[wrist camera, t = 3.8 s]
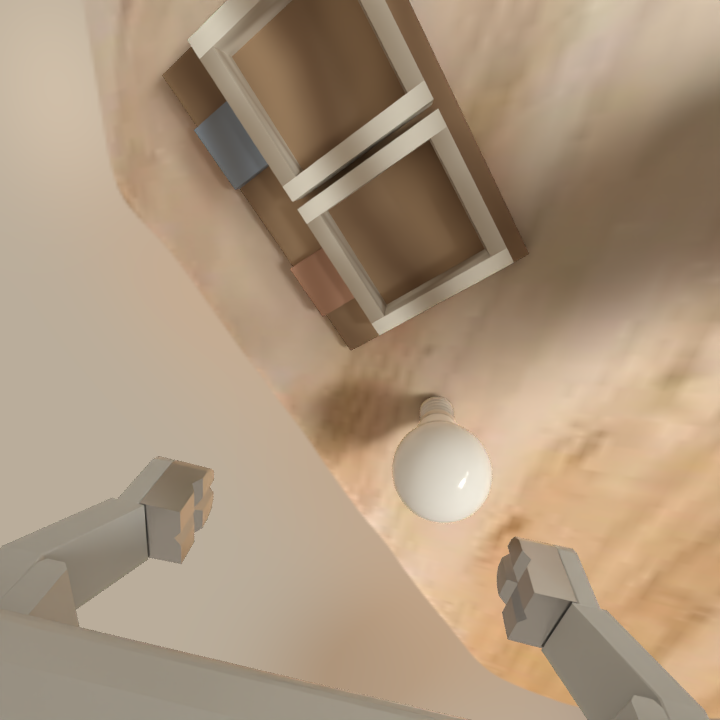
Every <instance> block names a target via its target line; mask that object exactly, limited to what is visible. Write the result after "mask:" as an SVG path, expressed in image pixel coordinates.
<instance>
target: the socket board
mask: <svg viewBox="0 0 720 720" xmlns="http://www.w3.org/2000/svg"><path fill="white" fill-rule="evenodd" d="M187 41H188V42H189V44H190V45H191V47H190V48H189V49H188V50H187V51H186V52H185V53H184V54H183V55H182V56H181V57H180V58H179V59H178V60H177V61H176V62H175V63H174V64H173V65H172V66H171V67H170V68H169V69H168V70H167V71H166V72H165V73H164V74H163V75H162V76H163V78H164V79H165V81H166V82H167V84H168V85H169V86H170V88H171V89H172V91H173V92H174V94H175V95H176V97H177V98H178V100H179V101H180V102H181V104H182V105H183V107H184V108H185V110H186V111H187V113H188V114H189V116H190V117H191V118H192V120H193V121H194V123H195V124H196V126H197V128H196V129H195V130H194V131H195V132H196V134H197V135H198V137H199V138H200V140H201V141H202V143H203V144H204V145H205V147H206V148H207V150H208V151H209V153H210V154H211V156H212V157H213V158H214V160H215V161H216V163H217V164H218V166H219V167H220V169H221V170H222V171H223V173H224V174H225V176H226V177H227V179H228V180H229V182H230V183H231V185H232V186H233V187H234V189H235V190H236V189H240V190H241V191H242V193H243V194H244V196H245V197H246V199H247V200H248V202H249V203H250V204H251V206H252V207H253V209H254V210H255V212H256V213H257V215H258V216H259V218H260V219H261V220H262V222H263V223H264V225H265V226H266V228H267V229H268V231H269V232H270V234H271V235H272V237H273V238H274V239H275V241H276V242H277V244H278V245H279V247H280V248H281V250H282V251H283V253H284V254H285V255H286V257H287V258H288V260H289V261H290V263H291V264H292V266H293V267H292V268H291V269H290V270H291V271H292V273H293V274H294V276H295V277H296V279H297V280H298V282H299V283H300V284H301V286H302V287H303V289H304V290H305V292H306V293H307V295H308V296H309V297H310V299H311V300H312V302H313V303H314V305H315V306H316V308H317V309H318V311H319V312H320V313H321V315H322V316H325V315H327V317H328V318H329V320H330V321H331V322H332V324H333V325H334V327H335V328H336V330H337V331H338V333H339V334H340V336H341V337H342V339H343V340H344V341H345V343H346V344H347V346H348V347H349V349H350V350H353V349H355V348H357V347H359V346H361V345H362V344H364V343H366V342H368V341H370V340H372V339H373V338H375V337H377V336H380V335H381V334H383V333H385V332H387V331H389V330H391V329H393V328H394V327H396V326H398V325H400V324H402V323H404V322H405V321H407V320H409V319H411V318H413V317H415V316H416V315H418V314H420V313H422V312H424V311H426V310H428V309H429V308H431V307H433V306H435V305H437V304H439V303H440V302H442V301H444V300H446V299H448V298H450V297H451V296H453V295H455V294H457V293H459V292H461V291H463V290H464V289H466V288H468V287H470V286H472V285H474V284H475V283H477V282H479V281H481V280H483V279H485V278H487V277H488V276H490V275H492V274H494V273H496V272H498V271H499V270H501V269H503V268H505V267H507V266H509V265H510V264H512V263H514V262H515V261H517V260H519V259H521V258H523V257H524V256H526V255H528V254H529V253H528V250H527V248H526V246H525V244H524V242H523V240H522V238H521V236H520V234H519V231H518V229H517V227H516V225H515V223H514V221H513V219H512V217H511V215H510V213H509V210H508V208H507V206H506V204H505V202H504V200H503V198H502V196H501V194H500V191H499V189H498V187H497V185H496V183H495V181H494V179H493V177H492V175H491V173H490V170H489V168H488V166H487V164H486V162H485V160H484V158H483V156H482V154H481V151H480V149H479V147H478V145H477V143H476V141H475V139H474V137H473V135H472V133H471V130H470V128H469V126H468V124H467V122H466V120H465V118H464V116H463V114H462V111H461V109H460V107H459V105H458V103H457V101H456V99H455V97H454V95H453V93H452V90H451V88H450V86H449V84H448V82H447V80H446V78H445V76H444V74H443V71H442V69H441V67H440V65H439V63H438V61H437V59H436V57H435V55H434V52H433V50H432V48H431V46H430V44H429V42H428V40H427V38H426V36H425V34H424V31H423V29H422V27H421V25H420V23H419V21H418V19H417V17H416V15H415V12H414V10H413V8H412V6H411V4H410V2H409V0H227V1H226V2H225V3H224V4H223V5H222V6H221V7H220V8H219V9H218V10H217V11H216V12H215V13H214V14H213V15H212V16H211V17H210V18H209V19H208V20H207V21H206V22H205V23H204V24H203V25H202V26H201V27H200V28H199V29H198V30H197V31H196V32H195V33H194V34H193V35H192V36H191V37H190V38H189V39H188V40H187Z"/></svg>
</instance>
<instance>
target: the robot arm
mask: <svg viewBox="0 0 720 720" xmlns="http://www.w3.org/2000/svg"><path fill="white" fill-rule="evenodd" d="M213 480H214V471H213V470H212V469H210V468H206V467H202V466H197V465H194V464H190V463H186V462H182V461H178V460H172V459H168V458H164V457H160V456H158V457H156V458H154V459H153V460H152V461H151V462H150V463H149V464H148V465H147V466H146V467H145V469H144V470H143V471H142V472H141V473H140V474H139V475H138V476H137V478H136V479H135V480H134V481H133V482H132V483H131V484H130V485H129V487H128V488H127V489H126V490H125V491H124V492H123V493H122V494H121V495H120V497H119V498H118V499H115V498H110V499H108V500H106V501H104V502H101V503H99V504H97V505H94V506H92V507H90V508H88V509H85V510H83V511H81V512H78V513H76V514H74V515H72V516H69V517H67V518H65V519H62V520H60V521H58V522H56V523H53V524H51V525H49V526H47V527H44V528H42V529H40V530H37V531H35V532H33V533H31V534H28V535H26V536H24V537H21V538H19V539H17V540H15V541H13V542H10V543H8V544H6V545H3V546H2V547H1V548H0V720H469V719H465V718H461V717H457V716H452V715H448V714H444V713H440V712H435V711H431V710H427V709H423V708H419V707H414V706H410V705H406V704H402V703H398V702H393V701H389V700H385V699H381V698H377V697H372V696H368V695H364V694H359V693H355V692H351V691H347V690H342V689H338V688H334V687H330V686H326V685H322V684H317V683H313V682H309V681H304V680H300V679H296V678H292V677H288V676H283V675H279V674H275V673H271V672H266V671H262V670H258V669H254V668H249V667H245V666H241V665H237V664H233V663H228V662H224V661H220V660H216V659H211V658H207V657H203V656H199V655H195V654H190V653H186V652H182V651H178V650H174V649H169V648H165V647H161V646H157V645H153V644H148V643H144V642H140V641H135V640H131V639H127V638H123V637H119V636H115V635H110V634H106V633H101V632H97V631H94V630H89V629H85V628H81V627H79V622H78V618H77V613H76V609H77V608H79V607H80V606H82V605H83V604H85V603H86V602H88V601H89V600H91V599H92V598H93V597H95V596H96V595H98V594H99V593H101V592H102V591H103V590H104V589H106V588H108V587H109V586H111V585H112V584H113V583H115V582H116V581H118V580H119V579H121V578H122V577H124V576H125V575H126V574H128V573H129V572H131V571H132V570H134V569H135V568H136V567H138V566H139V565H141V564H142V563H144V562H145V561H147V560H148V557H149V558H154V559H159V560H165V561H169V562H174V563H179V564H182V562H183V560H184V559H185V557H186V555H187V554H188V552H189V550H190V548H191V547H192V545H193V543H194V532H196V531H198V530H199V529H201V528H203V526H204V524H205V522H206V521H207V519H208V516H209V513H210V511H211V508H212V502H213V491H212V490H211V488H210V485H211V484H212V482H213ZM508 549H509V553H510V554H508V555H506V556H504V557H502V559H501V561H500V564H499V566H498V572H497V588H498V594H499V596H500V598H501V599H502V600H503V601H504V603H505V604H506V606H505V608H504V610H503V612H502V614H503V619H504V624H505V629H506V634H507V639H508V640H512V641H516V642H520V643H524V644H528V645H531V646H535V647H539V648H542V652H543V653H544V655H545V656H546V658H547V659H548V661H549V662H550V664H551V665H552V667H553V668H554V670H555V671H556V673H557V674H558V676H559V677H560V679H561V680H562V682H563V683H564V685H565V686H566V688H567V689H568V691H569V693H570V694H571V696H572V697H573V699H574V700H575V702H576V703H577V705H578V706H579V708H580V709H581V710H582V712H583V713H584V715H585V717H586V718H587V720H710V719H709V717H708V716H707V714H706V712H705V710H704V709H703V708H702V707H701V706H700V705H699V704H698V703H697V702H696V701H695V700H694V699H693V698H692V697H691V696H690V695H689V694H688V693H687V692H686V691H685V690H684V689H683V688H682V687H681V686H680V685H679V683H678V682H677V681H676V680H675V679H674V678H673V677H672V676H671V675H670V674H669V673H668V672H667V671H666V670H665V669H664V668H663V667H662V666H661V665H660V664H659V663H658V662H657V661H656V660H655V659H654V658H653V657H652V656H651V655H650V654H649V653H648V652H647V651H646V650H645V649H644V648H643V647H642V646H641V645H640V644H639V643H638V642H637V641H636V640H635V639H634V638H633V637H632V636H631V635H630V634H629V633H628V632H627V631H626V630H625V629H624V628H623V627H622V626H621V625H620V624H619V622H618V621H617V620H616V619H615V618H614V617H613V616H612V615H611V614H610V613H609V612H608V611H607V610H603V609H600V606H599V604H598V602H597V599H596V597H595V595H594V592H593V590H592V588H591V585H590V583H589V581H588V578H587V576H586V574H585V571H584V569H583V567H582V564H581V562H580V560H579V557H578V555H577V553H576V552H575V551H574V550H573V549H571V548H566V547H562V546H557V545H551V544H548V543H543V542H538V541H534V540H529V539H524V538H519V537H514V538H513V539H511V541H510V543H509V545H508Z"/></svg>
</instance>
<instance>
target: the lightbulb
mask: <svg viewBox="0 0 720 720" xmlns="http://www.w3.org/2000/svg"><path fill="white" fill-rule="evenodd" d="M392 477H393V482H394V486H395V489H396V491H397V493H398V495H399V497H400V499H401V500H402V502H403V503H404V504H405V505H406V507H407V508H408V509H409V510H411V511H412V512H413V513H414V514H416V515H417V516H419V517H421V518H423V519H425V520H427V521H430V522H434V523H441V524H449V523H455V522H459V521H462V520H464V519H467V518H468V517H470V516H472V515H473V514H474V513H476V512H477V511H478V510H479V509H480V508H481V506H482V505H483V504H484V502H485V501H486V499H487V497H488V495H489V492H490V489H491V485H492V465H491V461H490V458H489V455H488V453H487V451H486V449H485V447H484V446H483V444H482V443H481V442H480V440H479V439H478V438H477V437H476V436H475V435H474V434H473V433H471V432H470V431H469V430H467V429H466V428H464V427H462V426H460V425H458V423H457V422H456V421H455V418H454V410H453V406H452V404H451V403H450V402H449V401H448V400H447V399H445V398H442V397H431V398H428V399H426V400H425V401H424V402H423V403H422V404H421V406H420V422H419V424H418V426H417V427H416V428H414V429H413V430H412V431H410V432H409V433H408V434H407V435H406V436H405V437H404V438H403V439H402V441H401V442H400V444H399V445H398V447H397V449H396V452H395V454H394V458H393V463H392Z"/></svg>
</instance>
